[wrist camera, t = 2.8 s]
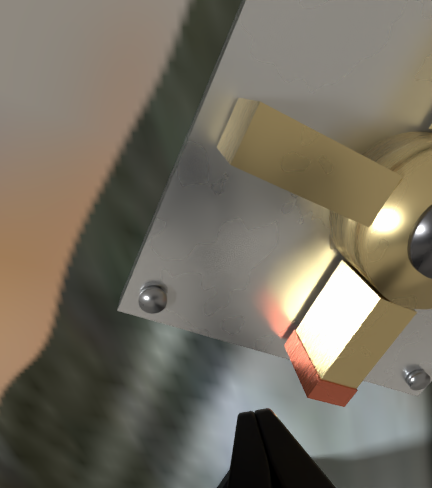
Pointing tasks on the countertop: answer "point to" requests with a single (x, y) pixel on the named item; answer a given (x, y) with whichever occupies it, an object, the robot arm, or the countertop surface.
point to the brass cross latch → (348, 238)
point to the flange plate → (273, 197)
